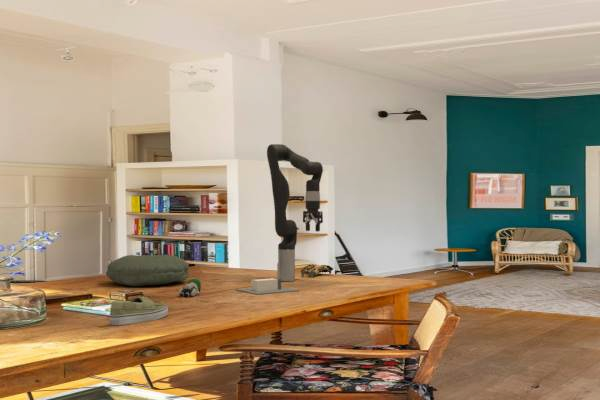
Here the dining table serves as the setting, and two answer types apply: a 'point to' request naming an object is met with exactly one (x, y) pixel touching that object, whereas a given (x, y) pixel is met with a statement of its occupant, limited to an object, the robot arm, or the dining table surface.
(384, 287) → the dining table surface
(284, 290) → the slate mat
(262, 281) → the cream block
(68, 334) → the dining table surface
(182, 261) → the pillow
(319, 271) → the figurine
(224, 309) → the dining table surface
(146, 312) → the boat shoe
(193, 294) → the toy
